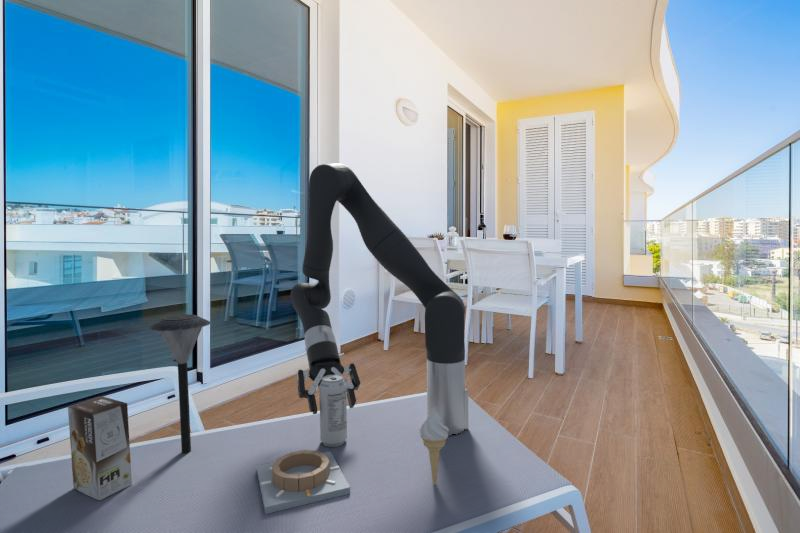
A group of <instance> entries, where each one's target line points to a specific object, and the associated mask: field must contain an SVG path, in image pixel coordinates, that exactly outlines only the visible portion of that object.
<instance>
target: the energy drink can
mask: <svg viewBox="0 0 800 533" xmlns="http://www.w3.org/2000/svg"><path fill="white" fill-rule="evenodd" d="M343 376H344V375H343ZM343 376H341V375H326V376H324V377H322V381H321V383H320V385H319V387H318V392H319V393H318V395H319V433H320V434H319V436H320V441H321V442H322V443H323V446H325V447H329V448H330V447H331V448H334V447H340V446H342V445H344V444H345V442H346V440H347V439H348V425H347V424H348V420H347V417H348V416H347V415H348V414H347V392H346V383H345V382H344V380H343Z"/></svg>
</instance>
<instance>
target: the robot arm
mask: <svg viewBox="0 0 800 533" xmlns="http://www.w3.org/2000/svg"><path fill="white" fill-rule="evenodd" d="M361 182H362V181H360V179H359V177H358V176H357V175H356V174H355V172H354V171H353V170H352V169H351V168H350V167H349V166H347V165H346V164H343V163H339V162H332V163H331V162H330V163H322V164H319V165H317V166H316V167H314V169H313V170H312V171H311V173H310V176H309V180H308V218H307V219H308V222H307V227H308V228H307V237H306V238H307V239H306V244H305V246H306V247H305V251H304V256H303V261H302V262H303V263H302V274H303V275H304V276H306V277H307V278H308V279H309V278H310V279H312V280H317V282H314V283H313V282H299V283H296V284H294V285H293V287H292V288H291V291H290V302H291V304H292V307H293V308H294V311H295V312H296V314H297V316H298V318H299V319H300V321H301V324H302V327H303V335H304V346H305V347H304V348H305V352H306V356H307V361H308V367H309V368H308V369H309V370H308V371H307V370H306V371H304V370H303V369H298V370H297V374H296V375H297V376H296V381H297V392H298V398H300V399H303V398H304V399H307V402H308V403H307V404H308V409H309V412H311V413H312V415H317V414H318V407H317V399H316V394H315V393H316V392H317V391H318V390H319V385H320V383H321V381H322V377H324V376H326V375H341V376H343V380H344V382H345V383H346V399H347V402H348V406H349V409H353V408H354V407H355V405H356V404H357V398H356V394H355V391H358V389H359V388H360V385H361V379H360V378H359V375H358V374H359V373H358V371H357V368H356V365H355V364H354V363H350V364H349V365H346V366H343V365H342V363H341V358H340V354H339V350H338V345H337V341H336V338H335V337H336V336H335V333H334V331H333V328H332V324H331V319H330V316H329V314H328V312H327V311H326V310H324V309H326V308H327V307H328V306H329V304H330V303H331V298H332V297H331V296H332V295H331V287H330V271H331V264H332V258H333V252H334V240H333V234H332V226H331V225H332V216H333V212H334V208H335V206H336V202H337V203H339V204H340V205H342V207H344V208H345V210H346V211H347V212H348V213H349V214H350V215H351V217H352V218H353V220H354V221H355V223H356V225H357V227H358V230H359V233H360V236H361V239H362V241H363V244H364V245H365V246H366V248H367V250H368V251H369V252H370V253H371V255H372V256H373V257H374V258H375V259H376V261H377V262H378V263H379V264H380V265H381V267H383V268H384V269H385V270H386V271H387V272H388V273H389V274H391V275H392V276H393V277H395V278H396V279H397V280H398V281H399V282H401V283H402V284H403V285H405V286H406V287H407V288H408V289H409V290H411V292H412V293H413V294H414V295H415V296H416V298H417V299H418V300H419V301H420V303H421V305H422V306H423V307H424V308H425V309H424V341H425V343H424V344H425V350H426V419H427V418H428V416H429V415H430V414H431V412H432V410H433V408H434V407H435V409H436V411H437V413H438V415H439V417H440V418H441V419H442V420H443V422H444V423H445V424H444V425H445V426H446V427H448V429H449V432H447V433H448V436H453V435H452V434H456V435H459V434H461V433H463V432H464V431H465V430H468V429H469V390H468V388H466V347H465V346H466V345H465V344H466V343H465V316H466V315H465V314H466V307H465V306H466V305H465V303H464V300H463V299H462V298H461V296H460V295H459V294H457V293H456V292H455V291H454V290H453V289H452V288H451V287H450V286H449V285H447V284H446V282H444V281H443V280H442V279H441V278H440V277H439V276H438V275H437V274H436V273H435V272H434V271H433V270H432V268H431V267H430V266H429V264H428V263H427V261H426V260H425V259H424V257H423V256H422V254H421V253H420V251H419V250H418V249H417V248H416V246H415V245H414V244H413V243H412V241H411V240H410V239H409V238H408V236H407V235H405V233H404V232H403V231H402V229H401V228H399V226H397V224H396V223H395V222H394V221H393V220H392V219H391V218H390V217H389V215H388V214H387V213H386V212H385V211H384V210H383V209H382V207H380V206H379V205H378V203H377V202H376V201H375V200H374V198H373V197H372V195H370V193H369V192H368V190H367V189H366V188H365V187H364V185H363V184H362V183H361ZM344 373H345V374H346V375H347V376H349V378H350V381H351V382H350V381H349V380H348V379H347V377H346V376H345V375H343V374H344ZM307 378H309V379H310V380H312V381H313V382H312V384H311V386H310V388H309V389H306V385H305V382H306V381H307ZM467 428H468V429H467ZM464 429H465V430H464ZM462 431H463V432H462ZM460 432H461V433H460ZM458 433H459V434H458Z"/></svg>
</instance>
